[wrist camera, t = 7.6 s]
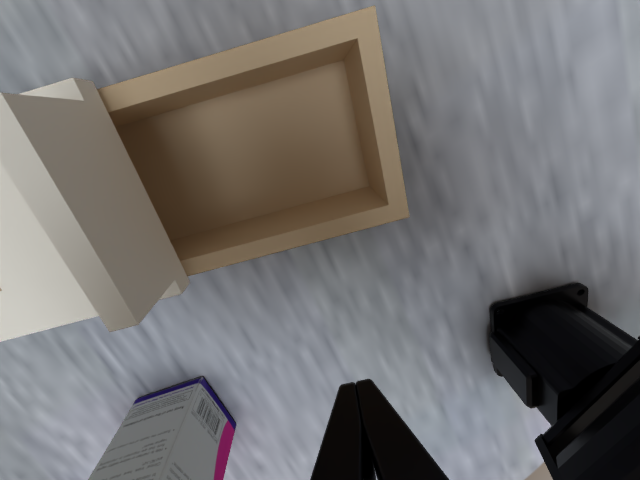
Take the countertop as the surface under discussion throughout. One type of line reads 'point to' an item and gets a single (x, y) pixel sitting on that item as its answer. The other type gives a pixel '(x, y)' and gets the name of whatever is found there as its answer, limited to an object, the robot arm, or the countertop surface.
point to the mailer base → (266, 142)
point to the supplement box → (171, 437)
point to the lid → (75, 217)
